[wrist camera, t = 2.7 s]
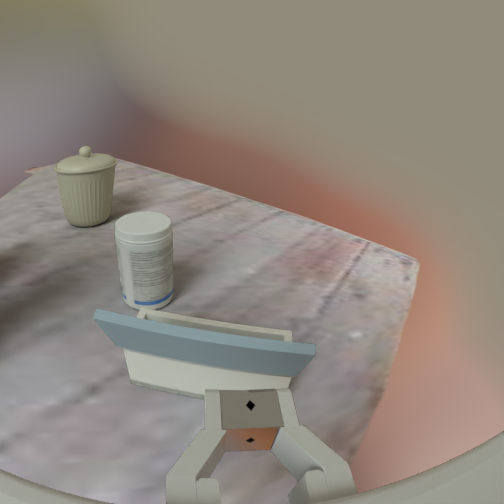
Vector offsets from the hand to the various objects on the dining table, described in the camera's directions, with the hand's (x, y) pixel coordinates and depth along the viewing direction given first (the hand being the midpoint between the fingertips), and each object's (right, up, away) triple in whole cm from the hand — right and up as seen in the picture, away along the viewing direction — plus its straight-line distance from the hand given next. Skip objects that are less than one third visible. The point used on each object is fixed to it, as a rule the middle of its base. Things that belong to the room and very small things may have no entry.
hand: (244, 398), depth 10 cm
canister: (-46, +14, +68) cm, 83 cm away
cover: (-4, -4, +19) cm, 20 cm away
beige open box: (-6, -12, +30) cm, 32 cm away
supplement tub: (-19, -3, +44) cm, 48 cm away
